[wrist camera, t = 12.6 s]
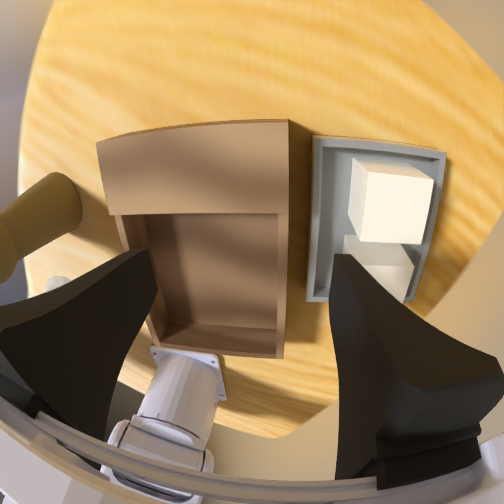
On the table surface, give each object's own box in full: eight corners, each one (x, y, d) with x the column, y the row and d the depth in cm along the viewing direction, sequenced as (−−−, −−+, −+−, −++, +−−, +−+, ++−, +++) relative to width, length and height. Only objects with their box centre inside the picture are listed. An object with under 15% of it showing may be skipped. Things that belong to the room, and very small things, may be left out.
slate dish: (406, 289, 21) (412, 301, 20) (305, 288, 23) (306, 301, 21) (435, 148, 15) (446, 152, 14) (312, 134, 17) (314, 137, 15)
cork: (85, 185, 20) (-10, 248, 11) (79, 240, 23) (5, 311, 14) (42, 164, 20) (-48, 212, 10) (39, 217, 23) (-34, 274, 13)
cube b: (408, 163, 16) (433, 179, 13) (400, 217, 18) (420, 244, 15) (352, 157, 17) (368, 171, 13) (347, 214, 19) (359, 241, 15)
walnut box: (285, 330, 25) (283, 363, 22) (167, 321, 27) (153, 349, 23) (288, 119, 16) (288, 122, 13) (126, 133, 18) (95, 142, 15)
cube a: (396, 237, 19) (414, 266, 15) (385, 281, 21) (398, 315, 17) (344, 234, 19) (355, 264, 16) (338, 280, 21) (344, 315, 18)
